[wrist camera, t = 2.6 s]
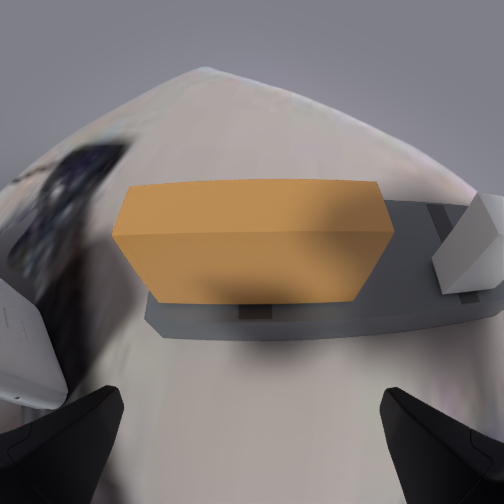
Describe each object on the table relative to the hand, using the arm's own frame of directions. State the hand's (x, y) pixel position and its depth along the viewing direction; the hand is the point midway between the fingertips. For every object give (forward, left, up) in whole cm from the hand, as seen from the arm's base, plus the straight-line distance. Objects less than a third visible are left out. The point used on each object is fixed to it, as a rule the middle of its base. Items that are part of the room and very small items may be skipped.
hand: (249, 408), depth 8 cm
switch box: (+9, -10, -11) cm, 17 cm away
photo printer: (+5, +18, -11) cm, 22 cm away
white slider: (+5, -17, -7) cm, 19 cm away
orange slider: (+8, -1, -7) cm, 10 cm away
